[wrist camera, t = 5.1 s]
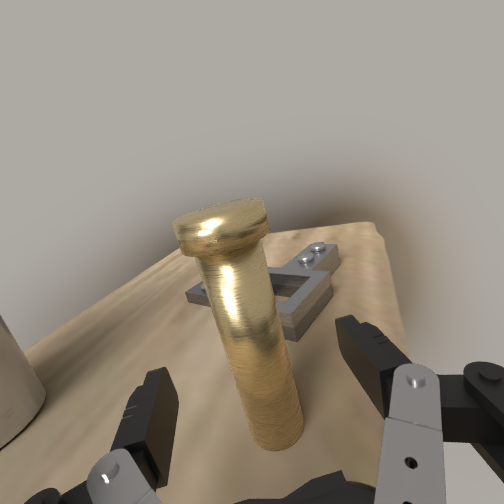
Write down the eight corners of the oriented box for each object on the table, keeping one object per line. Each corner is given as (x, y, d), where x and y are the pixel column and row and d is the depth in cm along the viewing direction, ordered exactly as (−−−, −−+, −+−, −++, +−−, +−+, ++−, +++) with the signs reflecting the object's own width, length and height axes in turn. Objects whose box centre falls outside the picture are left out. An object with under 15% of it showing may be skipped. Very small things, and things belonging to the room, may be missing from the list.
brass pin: (229, 438, 18) (153, 227, 14) (268, 387, 22) (217, 202, 17) (289, 476, 15) (218, 222, 11) (324, 409, 19) (280, 194, 14)
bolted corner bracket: (175, 310, 37) (166, 286, 36) (249, 259, 49) (244, 240, 48) (297, 341, 26) (289, 308, 25) (356, 265, 37) (353, 240, 36)
